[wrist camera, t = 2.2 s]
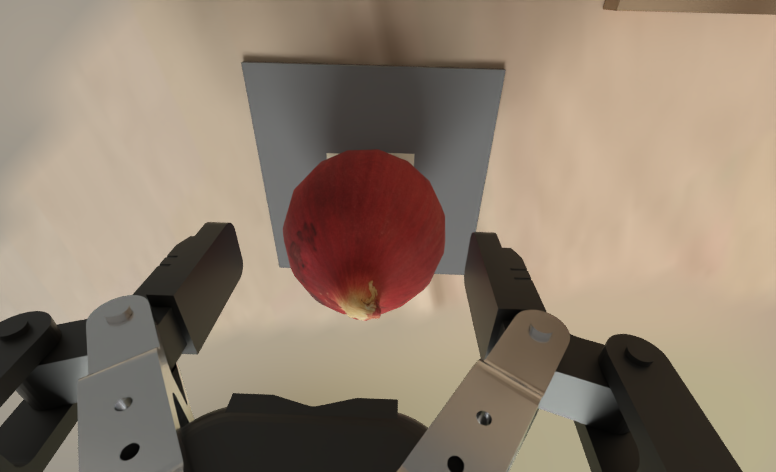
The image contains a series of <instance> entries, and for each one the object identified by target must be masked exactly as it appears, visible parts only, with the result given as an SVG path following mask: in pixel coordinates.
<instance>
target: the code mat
mask: <svg viewBox="0 0 776 472" xmlns="http://www.w3.org/2000/svg"><path fill="white" fill-rule="evenodd" d="M241 64H242V70H243V75H244V80H245V86H246V91H247V96H248V102H249V107H250V112H251V118H252V123H253V128H254V134H255V139H256V144H257V149H258V155H259V160H260V165H261V171H262V176H263V181H264V187H265V192H266V197H267V203H268V208H269V213H270V219H271V224H272V229H273V235H274V240H275V245H276V251H277V256H278V261H279V267H281V268H291V267H290V264H289V260H288V255H287V251H286V247H285V243H284V237H283V225H284V222H285V218H286V215H287V211H288V208H289V204H290V201H291V198H292V194H293V191H294V189H295V188H296V187H297V186H298V185H299V184H300V183H301V182H302V181H303V180H304V179H305V178H306V177H307V176H308V175H309V173H310V172H311V171H312V170H313V169H314V168H315V167H316V166H317V165H318V164H319V163H320V162H322V161H324V160H326V159H328V158H331V157H333V156H335V155H338V154H340V153H342V152H345V151H347V150H374V149H379V150H381V151H384V152H386V153H389V154H391V155H394V156H396V157H399V158H401V159H404V160H406V161H408V162H409V163H411V164H412V165H413V166H414V167H415V168H416V169H417V170H418V171H419V172H420V173H421V174H422V175H423V176H424V177H426V178H427V179H428V180H429V181H430V183H431V185H432V187H433V189H434V191H435V194H436V196H437V198H438V200H439V202H440V204H441V206H442V209H443V212H444V214H445V248H444V254H443V256H442V258H441V260H440V262H439V264H438V266H437V269H436V271H435V273H434V274H454V275H464V271H465V265H466V259H467V254H468V248H469V243H470V237H471V234H472V232H476V227H477V221H478V216H479V211H480V205H481V200H482V194H483V189H484V184H485V178H486V173H487V168H488V162H489V157H490V151H491V146H492V141H493V135H494V130H495V124H496V119H497V114H498V108H499V103H500V98H501V92H502V87H503V81H504V76H505V71H506V70H505V69H480V68H445V67H411V66H376V65H341V64H307V63H272V62H241Z"/></svg>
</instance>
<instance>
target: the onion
mask: <svg viewBox="0 0 776 472" xmlns="http://www.w3.org/2000/svg"><path fill="white" fill-rule="evenodd" d="M283 237H284V243H285V247H286V251H287V255H288V260H289V264H290V267H291V269H292V272H293V274H294V276H295V277H296V278H297V279H298V281H299V282H300V283H301V284H302V285H303V286H304V288H305V289H306V290H307V291H308V292H309V293H310V295H311V296H312V297H313V298H314V299H315V300H316V301H318V302H319V303H321V304H322V305H325V306H327V307H329V308H331V309H333V310H335V311H337V312H340V313H342V314H347V315H348V316H349V317H351V318H354V319H357V320H366V321H367V320H369V319H372V318H380V314H383V313H386V312H388V311H391V310H393V309H396V308H398V307H401V306H403V305H404V304H405V303H407V302H408V301H409V300H411V299H412V298H413V297H415V296H416V295H417V294H419V293H420V292H421V291H422V290H424V289H425V288H426V286H427V285H428V284H429V283H430V281H431V279H432V277H433V275H434V273H435V271H436V269H437V266H438V264H439V262H440V260H441V258H442V256H443V254H444V248H445V214H444V212H443V209H442V206H441V204H440V202H439V200H438V198H437V196H436V194H435V191H434V189H433V187H432V185H431V183H430V181H429V180H428V179H427V178H426V177H424V176H423V175H422V174H421V173H420V172H419V171H418V170H417V169H416V168H415V167H414V166H413V165H412V164H411V163H409V162H408V161H406V160H404V159H401V158H399V157H396V156H394V155H391V154H389V153H386V152H384V151H381V150H379V149H374V150H347V151H345V152H342V153H340V154H338V155H335V156H333V157H331V158H328V159H326V160H324V161H322V162H320V163H319V164H318V165H317V166H316V167H315V168H314V169H313V170H312V171H311V172H310V173H309V175H308V176H307V177H306V178H305V179H304V180H303V181H302V182H301V183H300V184H299V185H298V186H297V187H296V188H295V189H294V191H293V194H292V198H291V201H290V204H289V208H288V211H287V215H286V218H285V222H284V225H283Z"/></svg>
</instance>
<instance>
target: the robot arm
mask: <svg viewBox="0 0 776 472" xmlns="http://www.w3.org/2000/svg"><path fill="white" fill-rule="evenodd" d="M242 270H243V260H242V256H241V252H240V248H239V244H238V240H237V236H236V232H235V228H234V226H233V225H232V224H231V223H217V222H207V223H205V224H204V226H203V227H202V228H201V229H200V230H199V232H198V233H197V234H196V235H195V236H190V237H189V238H187V239H185V240H184V241H182V242H181V243H179V244H177V245H176V246H175V247H174V248H173V250H172V251H171V252H170V253H169V254H168V255H167V258H165V259H164V260H163V261H162V262H161V263H160V266H158V267H157V268H156V269H155V270H154V271H153V272H152V273H151V275H150V276H149V277H148V278H147V279H146V280H145V281H144V282H143V284H142V285H141V286H140V287H139V288H138V289H137V290H136V292H135V293H134V294H133V295H128V296H122V297H119V298H115V299H113V300H110V301H108V302H106V303H104V304H103V305H101V306H99V307H98V308H97V309H96V310H94V311H93V312H92V313H91V314H90V316H89V317H88V319H85V320H79V321H74V322H69V323H63V324H58V325H56V323H55V322H54V320H53V319H52V317H51V316H50V315H49V314H48V313H46V312H41V311H33V312H26V313H22V314H19V315H16V316H13V317H10V318H8V319H6V320H4V321H2V322H0V407H1V406H2V405H3V403H5V401H6V400H7V399H8V398H9V397H10V396H11V395H12V394H13V392H14V391H15V390H16V391H17V392H18V393H19V395H20V396H21V397H22V398H23V399H24V400H23V401H22V402H21V403H20V404H19V406H18V407H17V408H16V409H15V410H14V411H13V413H12V414H11V415H10V416H9V417H8V418H7V420H6V421H5V422H4V423H3V424H2V425H1V427H0V472H43V470H44V469H45V468H46V466H47V465H48V463H49V462H50V460H51V459H52V457H53V456H54V454H55V453H56V451H57V450H58V449H59V447H60V445H61V444H62V443H63V441H64V440H65V438H66V437H67V435H68V434H69V433H70V431H71V429H72V428H73V427H74V425H75V424H76V422H77V421H78V453H79V472H509V471H510V469H511V467H512V465H513V462H514V460H515V458H516V456H517V454H518V452H519V450H520V448H521V446H522V444H523V442H524V440H525V437H526V435H527V433H528V431H529V429H530V427H531V425H532V423H533V421H534V419H535V417H536V415H537V412H538V411H539V409H542V410H545V411H548V412H551V413H554V414H557V415H559V416H562V417H565V418H568V419H571V420H574V423H575V425H576V428H577V431H578V434H579V437H580V440H581V443H582V446H583V449H584V452H585V455H586V458H587V460H588V463H589V466H590V469H591V472H742V470H741V469H740V467H739V466H738V464H737V463H736V461H735V460H734V458H733V457H732V455H731V453H730V452H729V450H728V449H727V447H726V446H725V444H724V443H723V442H722V440H721V439H720V437H719V435H718V434H717V432H716V431H715V429H714V428H713V426H712V425H711V423H710V422H709V420H708V419H707V417H706V416H705V414H704V413H703V411H702V409H701V408H700V406H699V405H698V403H697V402H696V400H695V399H694V397H693V396H692V394H691V393H690V391H689V390H688V388H687V387H686V385H685V384H684V382H683V381H682V379H681V378H680V376H679V375H678V373H677V372H676V370H675V369H674V367H673V366H672V364H671V363H670V361H669V359H668V358H667V357H666V356H665V354H664V353H663V352H662V351H661V350H659V349H658V348H657V347H656V346H654V345H653V344H651V343H650V342H648V341H646V340H644V339H642V338H639V337H636V336H633V335H627V334H618V335H614V336H611V337H610V338H609V339H608V340H607V342H606V344H605V345H603V344H600V343H596V342H593V341H589V340H585V339H582V338H579V337H576V336H573V335H571V334H570V333H569V331H568V329H567V327H566V326H565V325H564V324H563V322H561V321H560V320H559V319H558V318H556V317H555V316H553V315H551V314H549V313H547V312H546V310H545V307H544V305H543V303H542V301H541V299H540V297H539V294H538V292H537V290H536V288H535V286H534V283H533V281H532V280H531V277H530V275H529V273H528V271H527V268H526V266H525V264H524V262H523V259H522V258H521V257H520V256H519V255H518V254H517V253H516V252H515V251H514V250H513V249H511V248H502V247H501V244H500V242H499V239H498V237H497V234H496V233H487V232H472V234H471V237H470V243H469V248H468V254H467V259H466V265H465V271H464V283H465V289H466V293H467V298H468V303H469V307H470V312H471V316H472V321H473V325H474V330H475V334H476V338H477V343H478V347H479V352H480V356H481V359H479V360H478V361H477V362H476V363H475V365H474V366H473V367H472V368H471V370H470V371H469V372H468V374H467V375H466V377H465V378H464V380H463V381H462V382H461V384H460V385H459V386H458V388H457V389H456V390H455V392H454V393H453V395H452V396H451V398H450V399H449V400H448V402H447V403H446V405H445V406H444V407H443V409H442V410H441V411H440V413H439V414H438V415H437V417H436V418H435V420H434V421H433V422H432V424H431V425H430V427H429V428H427V427H426V426H425V425H423V424H422V423H420V422H418V421H417V420H415V419H413V418H411V417H409V416H406V415H403V414H400V413H398V412H397V411H398V409H397V408H398V400H393V399H367V398H355V399H350V400H346V401H340V402H336V403H331V404H326V405H321V406H316V407H312V406H308V405H304V404H301V403H298V402H294V401H291V400H288V399H285V398H282V397H279V396H275V395H263V394H236V393H233V394H232V397H231V399H230V402H229V404H228V406H227V407H225V408H221V409H218V410H215V411H212V412H210V413H207V414H205V415H203V416H201V417H199V418H197V419H194V416H193V413H192V410H191V407H190V403H189V400H188V396H187V393H186V389H185V385H184V382H183V379H182V375H181V372H180V368H179V366H178V364H177V360H178V359H179V357H180V356H181V354H198V353H199V351H200V349H201V348H202V346H203V344H204V342H205V340H206V339H207V337H208V335H209V333H210V331H211V330H212V328H213V326H214V324H215V322H216V321H217V319H218V317H219V315H220V313H221V312H222V310H223V308H224V306H225V305H226V303H227V301H228V299H229V297H230V296H231V294H232V292H233V290H234V288H235V287H236V285H237V283H238V281H239V279H240V277H241V275H242Z"/></svg>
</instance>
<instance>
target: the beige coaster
mask: <svg viewBox="0 0 776 472" xmlns="http://www.w3.org/2000/svg"><path fill="white" fill-rule="evenodd" d="M603 9H606V10H616V11H655V12H694V13H733V14H773V15H776V0H605V4H604V7H603Z"/></svg>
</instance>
